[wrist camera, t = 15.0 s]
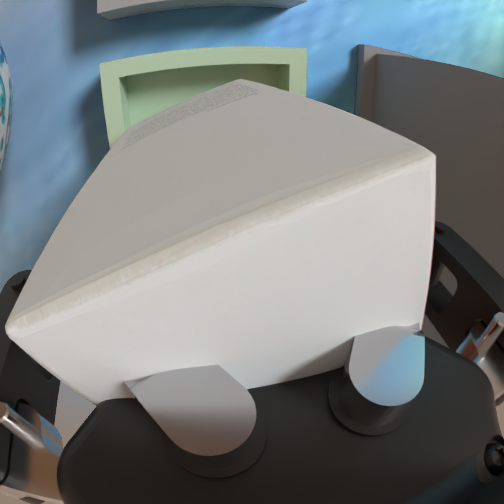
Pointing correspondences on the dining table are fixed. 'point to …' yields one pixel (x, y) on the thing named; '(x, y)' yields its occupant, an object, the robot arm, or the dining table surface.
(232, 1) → the grey tray
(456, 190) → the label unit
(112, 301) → the small box
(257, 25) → the dining table surface
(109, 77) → the sage tray
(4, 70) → the chinaware
